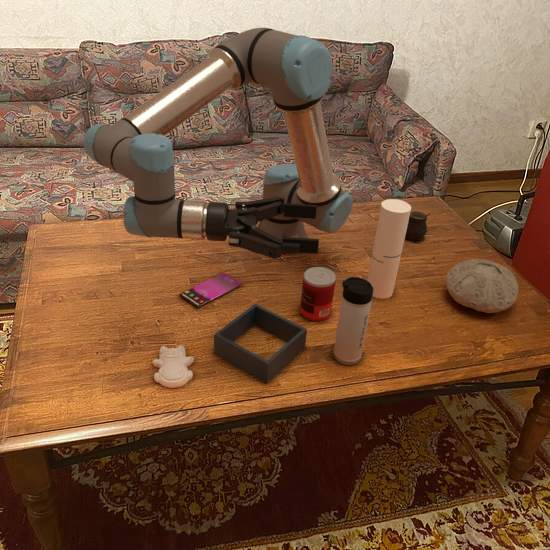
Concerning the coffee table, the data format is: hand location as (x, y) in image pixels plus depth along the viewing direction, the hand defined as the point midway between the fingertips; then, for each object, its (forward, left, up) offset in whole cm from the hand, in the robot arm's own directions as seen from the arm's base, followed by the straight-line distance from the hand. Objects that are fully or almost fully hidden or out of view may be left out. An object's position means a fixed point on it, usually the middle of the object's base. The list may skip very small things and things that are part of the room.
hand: (317, 228), depth 107 cm
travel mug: (+8, +5, -32) cm, 34 cm away
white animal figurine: (-19, -22, -32) cm, 43 cm away
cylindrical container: (+2, +33, -32) cm, 46 cm away
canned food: (-6, +14, -32) cm, 36 cm away
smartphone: (-31, +5, -32) cm, 45 cm away
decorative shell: (+24, +46, -32) cm, 61 cm away
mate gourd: (-3, +66, -32) cm, 74 cm away
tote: (-8, -6, -32) cm, 33 cm away
